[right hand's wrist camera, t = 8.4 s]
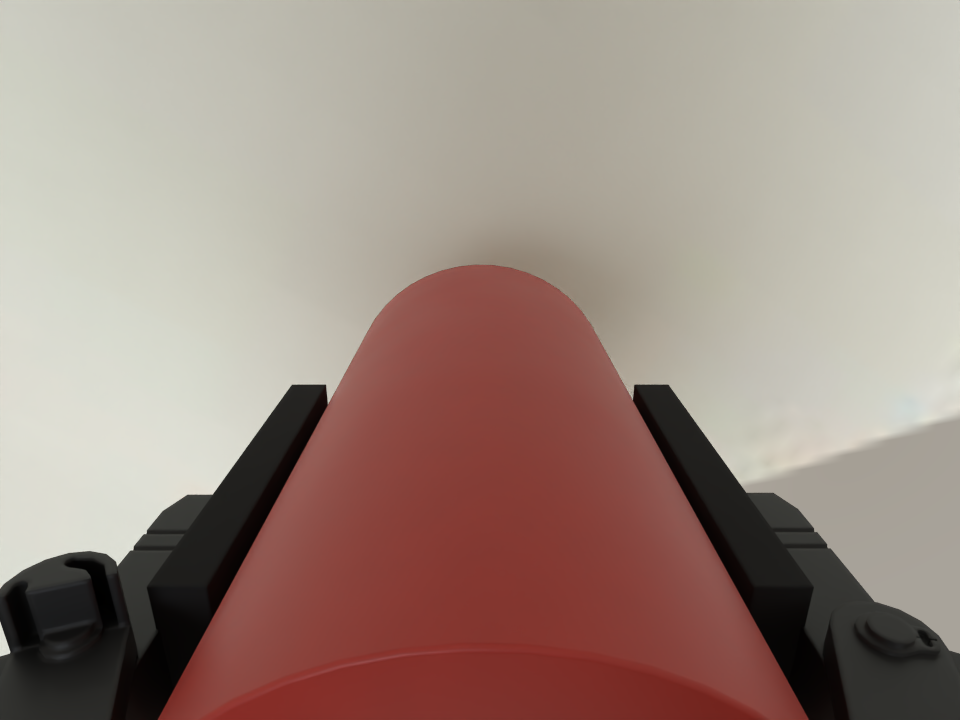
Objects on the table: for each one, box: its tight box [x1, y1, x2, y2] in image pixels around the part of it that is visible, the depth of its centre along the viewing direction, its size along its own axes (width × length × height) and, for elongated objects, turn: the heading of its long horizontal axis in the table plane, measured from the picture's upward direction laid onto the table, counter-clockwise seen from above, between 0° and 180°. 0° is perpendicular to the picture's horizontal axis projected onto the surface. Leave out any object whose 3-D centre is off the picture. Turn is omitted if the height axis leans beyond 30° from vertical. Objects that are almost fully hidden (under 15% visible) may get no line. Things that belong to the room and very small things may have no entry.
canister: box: [158, 265, 809, 720], centre depth 11 cm, size 7×7×13 cm
